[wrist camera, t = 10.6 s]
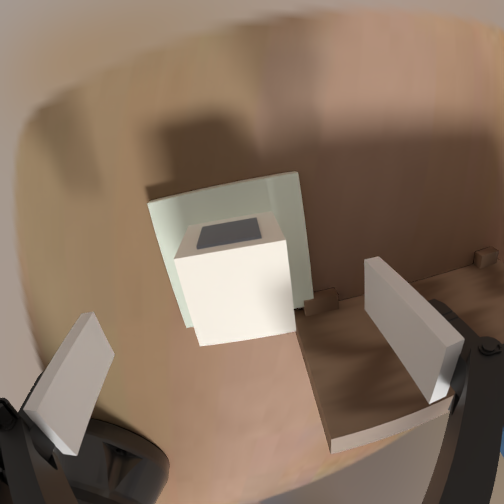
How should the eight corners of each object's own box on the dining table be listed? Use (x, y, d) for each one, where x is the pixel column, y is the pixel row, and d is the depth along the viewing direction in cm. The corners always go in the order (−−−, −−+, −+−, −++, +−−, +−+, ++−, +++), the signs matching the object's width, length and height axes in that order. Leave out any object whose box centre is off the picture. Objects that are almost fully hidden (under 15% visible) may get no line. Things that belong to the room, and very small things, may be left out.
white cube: (206, 297, 20) (200, 346, 15) (188, 223, 18) (172, 256, 13) (281, 285, 20) (296, 331, 15) (271, 208, 18) (285, 236, 13)
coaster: (187, 321, 21) (186, 327, 21) (150, 200, 18) (147, 203, 17) (311, 298, 21) (314, 304, 20) (295, 170, 18) (298, 172, 17)
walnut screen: (296, 340, 23) (330, 463, 12) (290, 297, 21) (331, 426, 11) (490, 283, 22) (563, 345, 12) (496, 244, 21) (580, 302, 11)
